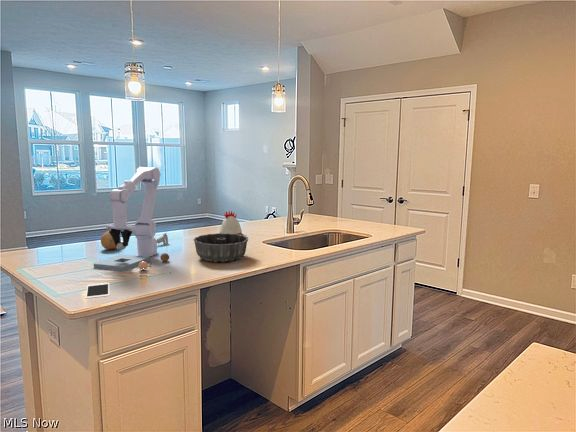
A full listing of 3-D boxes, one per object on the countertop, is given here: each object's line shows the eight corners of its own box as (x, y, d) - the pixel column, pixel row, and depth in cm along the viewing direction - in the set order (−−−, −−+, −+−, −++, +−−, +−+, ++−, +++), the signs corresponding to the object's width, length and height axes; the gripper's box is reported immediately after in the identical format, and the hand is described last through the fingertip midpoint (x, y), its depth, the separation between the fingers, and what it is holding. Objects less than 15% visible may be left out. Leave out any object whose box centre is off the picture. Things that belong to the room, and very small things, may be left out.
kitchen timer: (217, 233, 268) (216, 210, 265) (237, 231, 273) (237, 209, 271) (223, 237, 255) (222, 213, 253) (244, 235, 261) (244, 211, 259)
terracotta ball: (142, 268, 185) (142, 259, 184) (150, 269, 184) (149, 260, 183) (136, 271, 181) (136, 262, 180) (144, 272, 180) (144, 262, 179)
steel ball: (122, 249, 193) (120, 240, 193) (128, 248, 192) (127, 240, 191) (115, 250, 189) (114, 242, 189) (122, 250, 188) (121, 241, 187)
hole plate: (121, 258, 202) (121, 254, 202) (149, 261, 198) (149, 257, 197) (93, 267, 185) (93, 263, 185) (123, 271, 181) (123, 266, 180)
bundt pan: (259, 256, 209) (259, 236, 208) (225, 268, 187) (225, 246, 185) (218, 249, 223) (217, 231, 221) (182, 260, 200) (181, 239, 199)
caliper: (166, 243, 237) (166, 232, 236) (168, 243, 237) (167, 233, 236) (138, 250, 219) (137, 239, 218) (139, 251, 219) (139, 239, 218)
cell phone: (109, 283, 164) (109, 282, 164) (109, 296, 150) (109, 295, 150) (87, 286, 161) (87, 284, 161) (85, 299, 147) (85, 298, 147)
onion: (104, 252, 214) (103, 233, 213) (98, 249, 222) (97, 230, 220) (123, 249, 220) (122, 231, 219) (117, 246, 228) (116, 228, 226)
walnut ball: (163, 260, 200) (163, 251, 199) (171, 260, 199) (170, 252, 198) (158, 262, 196) (158, 253, 195) (166, 262, 195) (165, 254, 194)
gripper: (100, 216, 187) (102, 246, 189) (127, 218, 182) (129, 248, 184) (111, 214, 193) (113, 243, 195) (138, 216, 189) (139, 245, 191)
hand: (121, 245), depth 190 cm, fingers closed on steel ball, 4 cm apart
